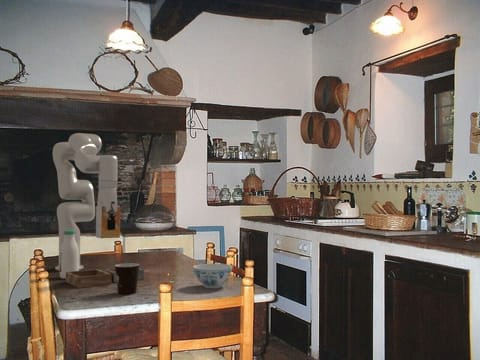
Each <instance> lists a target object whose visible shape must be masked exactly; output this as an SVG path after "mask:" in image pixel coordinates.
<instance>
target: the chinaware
mask: <svg viewBox="0 0 480 360" xmlns="http://www.w3.org/2000/svg"><path fill="white" fill-rule="evenodd" d="M192 267H193V272H194V276H195V278H196V279H197V281H198V282H199V283H201V284H202V285H203V286H204V288H205V289H220V288H222V286H223V284H225V283H226V282H227V280H229V278H230V276H231V274H232V270H233V265H231V264H227V263H202V264H195V265H193V266H192Z"/></svg>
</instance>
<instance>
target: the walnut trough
mask: <svg viewBox="0 0 480 360" xmlns="http://www.w3.org/2000/svg"><path fill="white" fill-rule="evenodd" d="M65 283H67V284H69V285H70V286H71V285H72V286H73V287H75V288H77V289H81V288H90V287H91V288H92V287H100V286H108V285H109V284H110V285H112V282H111V274H110V273H107V272H104V270H101V269H99V268H95V269H85V270H83V269H81V270H79V271H72V272H66V279H65Z"/></svg>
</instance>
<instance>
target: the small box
mask: <svg viewBox="0 0 480 360" xmlns="http://www.w3.org/2000/svg"><path fill="white" fill-rule="evenodd" d="M109 212H113V210H110V211H109ZM110 216H111V214H110ZM107 220H108V212H107V213H105V212H104V206H98V205H96V206H95V238H97V239H120V238H121V206H119V205H117V213H116V220H115V230H108V229H107Z"/></svg>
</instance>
